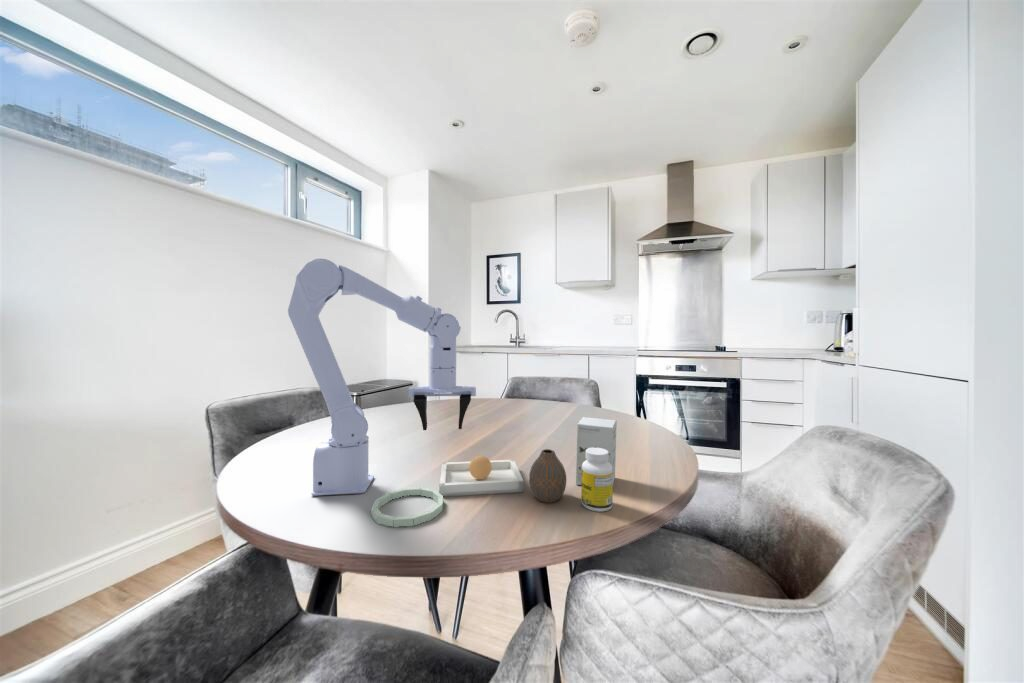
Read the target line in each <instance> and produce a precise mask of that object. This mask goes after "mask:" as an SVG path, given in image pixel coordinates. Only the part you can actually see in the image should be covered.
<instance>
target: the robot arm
mask: <svg viewBox="0 0 1024 683" xmlns="http://www.w3.org/2000/svg"><path fill="white" fill-rule="evenodd" d="M340 290H341V296H349V295H350V296H352V295H358V296H361V297H363V298H365V299H367V300H369V301H371V302H374V303H376V304H379V305H380V306H383V307H385V308H387V309H389V310H392V311H394V312H395V315H396V317H397V319H398V320H399V321H401V322H403V323H405V324H407V325H409V326H412V327H413V328H416V329H417V330H419V331H422V332H424V333H428V335H429V336H430V348H429V349H430V352H429V356H430V357H429V359H430V360H429V386H410V387H409V388H408V398H413V403H414V405H415V408H416V410H417V412H418V414H419V417H420V421H421V424H422V430H423V431H427V429H428V414H427V408H428V407H427V406H428V404H427V403H428V397H459V414H458V430H462V429H463V423H464V419H465V415H466V412H467V410H468V408H469V405H470V403H471V401H472V397H476V396H477V386H468V385H467V386H466V385H464V386H463V385H457V337H458V336H459V335H460V332H461V327H462V326H460V323H459V321H458V319H457V318H456V316H454V314H451V313H442V308H441V307H439V306H437V307H436V308H435V307H434V306H432V305H430V304H428V303H426V302H425V301H423V298H422V297H421V296H419V295H416V296H413V295H408V296H404V297H401V296H400V295H398V294H396V293H394V292H392V291H390V290H389V289H387V288H385V287H383V286H382V285H380V284H378V283H377V282H374V281H373V280H371V279H369V278H368V277H366V276H364V275H362V274H360V273H358V272H356V271H354V270H353V269H350V268H348V267H346V266H343V265H340V264H338V265H337V264H336V263H334V262H333V261H331V260H330V259H326V258H320V257H319V258H314V259H312V260H309V261H308V262H306V263H305V265H304V266H303V267H302V269H301V270H300V271H299V272H298V273H297V275H296V277H295V282H294V287H293V290H292V294H291V299H290V301H289V305H288V308H287V313H288V317H289V319H290V323H292V324H291V325H292V326H293V328H294V331H295V333H296V335H297V338H298V340H299V343H300V345H301V347H302V349H303V352H304V354H305V356H306V359H307V361H308V363H309V366H310V368H311V371H312V372H313V376H314V378H315V380H316V383H317V386H318V387H319V390H320V391H321V394H322V396H323V399H324V400H325V404H326V408H327V411H328V414H329V416H330V421H331V429H330V431H331V432H330V433H331V437H330V438H329V439H328V441H325V442H324V441H323V442H320V443H318V445H317V446H316V448H315V450H314V454H313V460H312V492H311V497H312V496H314V497H315V496H329V495H330V496H331V495H333V496H334V495H347V494H348V495H350V494H353V495H354V494H364V493H365V492H366V491H367V489H368V487H369V486H370V485H371V483H372V481H373V479H374V478H375V475H374V474H369V446H370V445H369V442H370V441H369V440H370V438H369V436H368V435H367V433H368V431H369V423H368V420H367V418H366V417H365V412H364V411H363V409H362V408H361V407H360V406H359V405H357V404H356V403H355V402H354V399H353V397H352V394H351V392H350V390H349V388H348V387H349V386H348V385H347V382H346V380H345V377H344V375H343V373H342V369H341V368H340V366H339V363H338V360H337V358H336V356H335V353H334V352H333V351H334V350H333V348H332V346H331V344H330V342H329V339H328V337H327V335H326V331H325V329H324V326H323V324H322V322H321V320H320V317H319V316H320V314H321V313H322V311H323V309H324V307H325V305H326V304H327V302H328V301H329V300H331V299H332V298H333V297H334V296H335V295H337V294H338V292H339V291H340Z"/></svg>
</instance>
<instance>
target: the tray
mask: <svg viewBox="0 0 1024 683" xmlns="http://www.w3.org/2000/svg"><path fill="white" fill-rule="evenodd" d="M489 461H490V462H491V466H492V469H491V473H490V474H489V476H488V477H486V478H485V479H481V480H479V479H476V478H474V477H473V476H472V475H471V473H470V470H469V466H470V463H471V461H454V462H453V461H452V462H451V461H450V462H442V463H441V469H440V470H441V471H440V478H439V491H438V492H439V493H440V494H441V495H443V496H444V497H458V496H459V497H460V496H461V497H462V496H473V495H474V496H475V495H493V494H509V493H510V494H511V493H524V490H525V489H524V485H525V484H524V482H525V481H524V479H523V476H522V473H521V472H520V470H519V468H518V465H517V463H516V461H515V460H514V459H501V460H500V459H499V460H489Z"/></svg>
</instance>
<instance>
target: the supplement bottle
mask: <svg viewBox="0 0 1024 683" xmlns="http://www.w3.org/2000/svg"><path fill="white" fill-rule="evenodd" d="M608 458H609V452H608V451H607V450H605V449H602V448H588V449H586V459H587V460H586V461H584V462H583V464H582V485H581V504H582V506H583V507H584V508H586V509H587V510H589V511H592V512H599V513H601V512H607V511H609V510H611V509H612V507H613V487H612V484H613V485H614V482H613V481H612V479H613V469H612V465H611V464H610V463H609V462H607V461H608V460H609V459H608Z"/></svg>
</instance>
